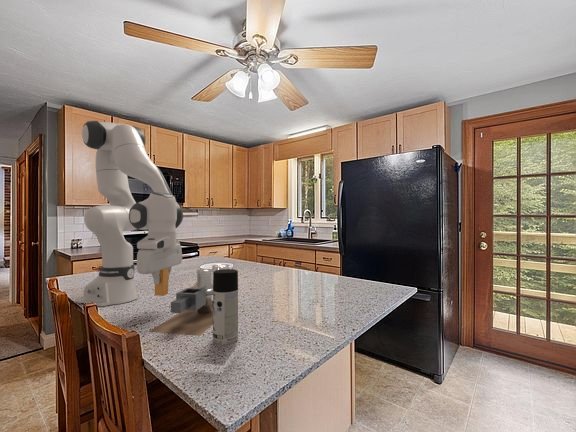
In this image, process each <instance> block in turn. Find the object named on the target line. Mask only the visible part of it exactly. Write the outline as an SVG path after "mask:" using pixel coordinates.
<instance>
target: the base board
mask: <svg viewBox="0 0 576 432" xmlns="http://www.w3.org/2000/svg"><path fill="white" fill-rule="evenodd" d="M211 327H213V304H212V311H211V312H210V313H207V314H199V313H197V310H196V311H194V310H185V311H183V312H182V313H175V315H173V316H172V317H170V318H168V319H167V320H165V321H164V322H162V323H160V324H159V325H157V326H155V327H154V328H152V329H150V330H149V331H148V332H149V333H160V334H161V333H162V334H174V335H185V336H187V335H188V336H199V337H200V336H202V335H203V334H204V333H205V332H206V331H207V330H208V329H210V328H211Z"/></svg>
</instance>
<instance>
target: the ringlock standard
mask: <svg viewBox="0 0 576 432" xmlns="http://www.w3.org/2000/svg"><path fill="white" fill-rule="evenodd" d="M211 275H212V268H198V269H197V270H196V285H194V286H190V287H186V288H185V289H182V290H180V291H178V292H176V293H175V297H176V299H174V300H173V301H170V313H171V314H178V313H182V312H183V311H185V310H194V311H196V310H197V313H199V314H207V313H210V312H211V311H212V305H213V285H212V277H211Z"/></svg>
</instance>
